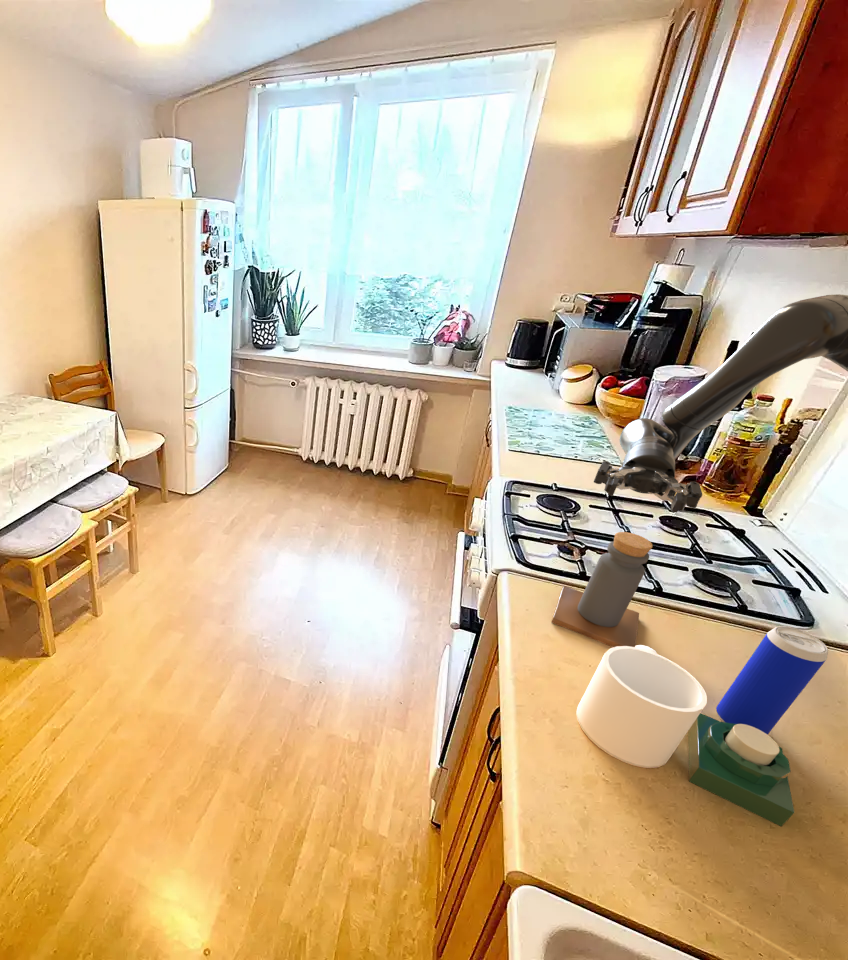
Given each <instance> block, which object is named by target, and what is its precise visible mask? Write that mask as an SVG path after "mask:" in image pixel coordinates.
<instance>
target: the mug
mask: <svg viewBox="0 0 848 960" xmlns="http://www.w3.org/2000/svg"><path fill="white" fill-rule="evenodd" d="M707 695H708V694H707V693H706V691H705V688H704V686H702V684H701V683H700V682H699V681H698V679H697V678H695V676H693V675H692V674H691V673H690V672H689V671H687V670H686V669H685V668H683V666H681V665H679V664H678V663H676V662H675V661H673V660H670V659H668V658H667V657H665V656H663V655H660V654H658V653H657V651H656V650H655V649H654V648H652V647H651V646H648V645H644V644H636V646H635V647H630V646H616V647H611V648H609V649H608V650H606V651H605V652H604V654H603V656H602V658H601V659H600V662H599V664H598V666H597V668H596V670H595V672H594V674H593V676H592V678H591V679H590V682H589V684H588V686H587V687H586V689H585V692H584V694H583V696H582V697H581V699H580V702H579V703H578V705H577V708H576V712H575V714H576V720H577V722H578V724H579V726H580V728H581V730H582V731H583V733H584V734H585V735H586V737H587V738H588V739H589V740H590V742H592V743H593V744H594V745H595V746H596V747H598V748H599V749H600V750H602V751H603V752H605V753H606V754H608V755H609V756H611V757H612V758H614V759H616V760H619V761H621V762H623V763H625V764H627V765H631V766H634V767H638V768H639V767H640V768H644V769H652V768H654V769H655V768H660V767H661V766H665V765H666V764H667V763H668V761H669V760H670V759H671V757H672V756H673V754H674V753H675V751H676V750H677V748H678V747H679V745H680V744H681V742H682V741H683V739H684V738H685V736H686V735H687V734H688V730H689V729H690V727H691V726H692V724H693V723H694V721H695V720H696V719H697V717H698V716H699V714H700V713H701V714H702V711H703V710H704V709H705V707H706V705H707V704H708V696H707Z"/></svg>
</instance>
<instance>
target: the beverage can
mask: <svg viewBox="0 0 848 960" xmlns="http://www.w3.org/2000/svg"><path fill="white" fill-rule="evenodd" d="M828 655H829V649H828V647H827V645H826V644H825V643H824V642H823V641H822V640H820V639H819V638H818V637H816V636H814V635H812V634H810V633H809V632H806V631H804V630H801V629H799V628H796V627H792V626H788V625H779V626H775V627H774V628H772V629H770V630H769V631H768V632H766V634H765V635H764V637H763V639H761V641H760V643H759V644H758V645H757V647H756V648H755V650H754V651H753V653H752V654H751V656H750V657H749V659H748V660H747V661H746V663H745V664H744V666H743V667H742V669H741V670H740V672H739V673H738V674H737V676H736V677H735V679H734V680H733V682H732V683H731V685H730V686H729V688H728V689H727V691H726V692H725V693H724V695H723V696H722V698H721V699H720V701H719V703H718V704H717V705H716V707H715V709H716V714H717V716H718V718H719V719H720V722H727V723H734V724H745V725H749V726H752V727H755V728H757V729H759V730H761V731H762V732H764V733H766V734H767V735H768V736H769V734H770V732H772V730H773V729H774V727H775V726H776V725H777V723H778V722H779V721H780V720H781V718H783V716H784V714H785V713H786V712H787V711H788V709H790V707H791V705H792V704H793V703H794V702H795V701H796V699H797V698H798V697H799V695H800V694H801V693H802V692H803V690H804V689H805V688H806V687H807V685H808V684H809V683H810V682H811V680H812V679H813V678H814V677H815V675H816V674H817V673H818V671H819V670H820V669H821V668H822V667H823V665H824V664H825V662H827V660H828Z"/></svg>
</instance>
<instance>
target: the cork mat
mask: <svg viewBox="0 0 848 960" xmlns="http://www.w3.org/2000/svg"><path fill="white" fill-rule="evenodd" d="M583 593H584V591H581V590H577V589H575V588H571V587H569V586H566V585H563V586H562V588H561V591H560V594H559V597H558V600H557V603H556V606H555V610H554V613H553V615H552V619H551V624H554V625H557V626H560V627H563V628H564V629H567V630H569V631H572V632H574V633H577V634H580V635H582V636H584V637H587V638H589V639H591V640H593V641H594V640H595V641H596V642H599V643H602V644H604V645H607V646H609V647H611V648H613V647H616V646H630V647H635V646H636V645H637V639H638V638H637V637H638V630H639V619H640V612H638V611H635V610H633V609H629V608H627V609H626V611H625V613H624V615H623V616H622V618H621V620H620V622H619V624H618V625H617V626H614V627H604V626H600V625H597V624H595V623H592V622H590V621H588V620H587V619H585V618H584V617H583V616H582V615H581V614H580V613H579V611H578V604H579V602H580V600H581V598H582V595H583Z"/></svg>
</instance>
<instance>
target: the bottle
mask: <svg viewBox="0 0 848 960" xmlns="http://www.w3.org/2000/svg"><path fill="white" fill-rule="evenodd" d="M653 546H654V545H653V543H652V542H651V541H650V540H648V539H647V538H645V537H644V536H641V535H639V534H637V533H632V532H627V531H618V532H616V533H615V534H614V538H613V541H611V542H609V543H608V544H607V548H606V549H607V550H606V551H607V552H605V553H602V554H601V555H600V557H599V558H598V561H596V562H597V563H596V565H595V567H594V569H593V572H592V573H591V576H590V578H589V580H588V582H587V584H586V586H585V589H584V591H583V595H582V598H581V600H580V602H579V604H578V611H579V613H580V614H581V615H582V616H583V617H584V618H585V619H587V620H588V621H590V622H592V623H595V624H597V625H600V626H604V627H614V626H617V625H618V624H619V622H620V620H621V618H622V616H623V615H624V613H625V611H626V609H628V607H629V605H630V603H631V601H632V599H633V597H634V595H635V593H636V591H637V589H638V587H639V585H640V583H641V581H642V579H643V577H644V576H645V573H646V569H645V567H644V566H643V565H644V564H647V562H648V560H649V559H650V554H649V552H650V551H651V550H652V549H653V548H654V547H653Z"/></svg>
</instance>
